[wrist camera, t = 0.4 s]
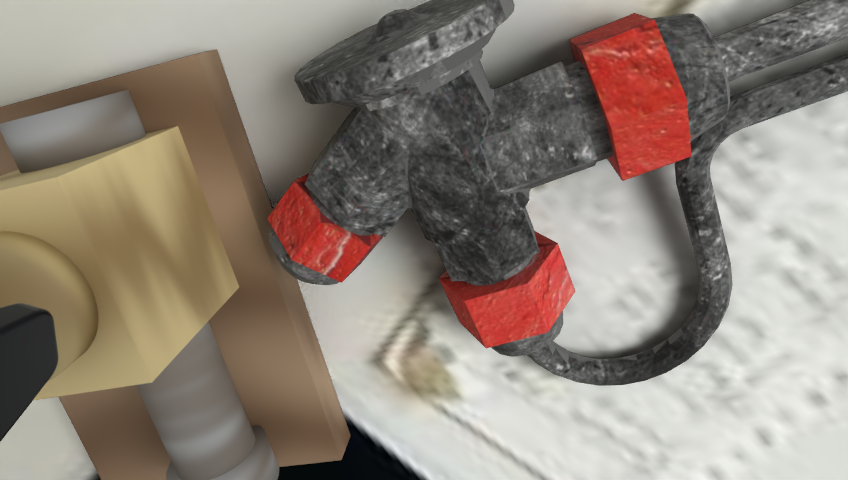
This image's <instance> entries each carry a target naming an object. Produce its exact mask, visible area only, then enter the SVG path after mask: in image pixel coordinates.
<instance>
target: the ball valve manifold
mask: <svg viewBox="0 0 848 480" xmlns="http://www.w3.org/2000/svg"><path fill="white" fill-rule="evenodd" d="M272 211H273V210H272V207H271V204H270V201H269V198H268V196H267V193H266V190H265V187H264V184H263V181H262V178H261V175H260V172H259V170H258V167H257V164H256V161H255V158H254V155H253V152H252V149H251V146H250V144H249V141H248V138H247V135H246V132H245V129H244V126H243V123H242V120H241V118H240V115H239V112H238V109H237V106H236V103H235V100H234V97H233V94H232V92H231V89H230V86H229V83H228V80H227V77H226V74H225V71H224V68H223V66H222V63H221V60H220V57H219V54H218V51H217V49H216V50H212V51H207V52H203V53H198V54H194V55H191V56H187V57H183V58H180V59H176V60H172V61H169V62H165V63H161V64H158V65H154V66H150V67H147V68H143V69H139V70H136V71H132V72H128V73H124V74H121V75H117V76H113V77H110V78H106V79H102V80H99V81H95V82H91V83H88V84H84V85H80V86H77V87H73V88H69V89H66V90H62V91H58V92H55V93H51V94H47V95H43V96H40V97H36V98H32V99H29V100H25V101H21V102H18V103H14V104H10V105H7V106H3V107H0V308H1V307H4V306H8V305H12V304H16V303H25V304H29V305H32V306H36V307H39V308H42V309H45V310H47V311H49V312H50V313H51V315H52V316H53V319H54V325H55V332H56V340H57V348H58V356H59V359H58V364H57V367H56V369H55V371H54V373H53V375H52V376H51V378H50V379H49V380H48V381H47V383H46V384H45V385H44V387H43V388H42V389H41V390H40V392H39V393H38V394H37V395H36V397H35V398H34V399H33V400H39V399H45V398H52V397H59V399H60V401H61V403H62V405H63V407H64V408H65V410H66V412H67V414H68V416H69V418H70V420H71V422H72V424H73V426H74V428H75V430H76V432H77V434H78V435H79V437H80V439H81V441H82V443H83V445H84V447H85V449H86V451H87V453H88V455H89V457H90V459H91V461H92V462H93V464H94V466H95V468H96V470H97V472H98V474H99V476H100V478H101V480H277V479H278V475H279V467H283V466H292V465H301V464H310V463H319V462H328V461H337V460H342V457H343V454H344V452H345V449H346V446H347V444H348V441H349V438H350V436H351V435H350V432H349V430H348V427H347V424H346V421H345V418H344V415H343V412H342V409H341V406H340V404H339V401H338V398H337V395H336V392H335V389H334V386H333V383H332V380H331V378H330V375H329V372H328V369H327V366H326V363H325V360H324V357H323V354H322V352H321V349H320V346H319V343H318V340H317V337H316V334H315V331H314V328H313V326H312V323H311V320H310V317H309V314H308V311H307V308H306V305H305V302H304V300H303V297H302V294H301V291H300V288H299V285H298V282H297V279H296V278H295V277H293V276H292V275H290V274H289V273H288V272H287V271H286V270H284V269H283V268H282V266H281V265H280V263H279V262H278V260H277V259H276V257H275V254H274V252H273V249H272V247H271V244H270V240H269V230H270V228H271V224H270V222H269V221H268V219H267V218H268V217H269V215H270V214H271V212H272Z"/></svg>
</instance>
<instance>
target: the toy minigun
mask: <svg viewBox="0 0 848 480" xmlns="http://www.w3.org/2000/svg"><path fill="white" fill-rule="evenodd" d="M513 11H514V2H513V0H431V1H428V2H426V3H424V4H422V5H419V6H417V7H415V8H412V9H410V10H405V9H402V10H395V11H392V12H390V13H388V14H386V15H385V16H384V17H383V18H382V19H381V20H380V21H379V22H378V24H375V25H373V26H371V27H369V28H367V29H365V30H363V31H361V32H359V33H357V34H355V35H353V36H351V37H350V38H348V39H346V40H344V41H342V42H340V43H339V44H337V45H335V46H334V47H332V48H330V49H328V50H327V51H325V52H323V53H322V54H320V55H319V56H317V57H316V58H314V59H313V60H311V61H310V62H309V63H308V64H306V65H305V66H304V67H303V68H301V69H300V70H299V71H298V73H297V74H296V75H295V81H296V83H297V85H298V87H299V89H300V91H301V93H302V95H303V97H304V99H305V101H306V102H308V103H311V104H324V103H329V102H334V103H338V104H343V105H348V106H355V108H354V109H353V110H352V112H351V113H350V114H349V116H348V117H347V119H346V120H345V121H344V123H343V124H342V125H341V127H340V128H339V130H338V131H337V132H336V134H335V135H334V136H333V138H332V139H331V141H330V142H329V143H328V145H327V146H326V147H325V149H324V150H323V152H322V153H321V154H320V156H319V157H318V158H317V160H316V161H315V163H314V165H313V167H312V169H311V171H310V173H309V174H307V175H305V176H303V177H301V178H299V179H297V180H295V181H294V182H293V183H292V184H291V186H290V187H289V189H288V190H287V191H286V193H285V194H284V196H283V197H282V198H281V200H280V201H279V203H278V204H277V205H276V207H275V208H274V210H273V211H272V212H271V214H270V215H269V217H268V218H267V219H268V221H269V222H270V224H271V228H270V230H269V240H270V244H271V247H272V249H273V252H274V254H275V257H276V259H277V260H278V262H279V263H280V265H281V266H282V268H283V269H284V270H286V271H287V272H288V273H289V274H290V275H292V276H293V277H295V278H297V279H299V280H301V281H303V282H307V283H312V284H320V285H331V284H337V283H338V282H341V283H342V282H343V281H344V280H345V279H346V278H347V277H348V276H349V275H350V274H351V273H352V272H353V271H354V270H355V269H356V268H357V267H358V266H359V265H360V264H361V263H362V261H363V260H364V259H365V258H366V257H367V255H368V254H369V253H370V252H371V251H372V249H373V248H374V247H375V246H376V245H377V243H378V242H379V241H380V240H381V239H382V237H385V236H386V235H387V233H388V232H389V231H390V230H391V228H392V227H393V226H394V225H395V223H396V222H397V221H398V220H399V218H400V217H401V216H402V215H403V213H404V212H405V211H406V210H407V208H412V210H413V212H414V214H415V216H416V219H417V221H418V223H419V225H420V227H421V229H422V231H423V233H424V236H425V238H426V239H428V240H429V241H431V242H433V243H434V244H435V247H436V249H437V251H438V253H439V255H440V257H441V259H442V262H443V264H444V266H445V268H446V271H445V272H444V273H443V274H442V275H441V276H440V278H439V280H440V282H441V284H442V286H443V288H444V290H445V292H446V294H447V297H448V299H449V301H450V303H451V305H452V307H453V309H454V311H455V313H456V315H457V317H458V320H459V322H460V323H461V324H462V325H463V326H464V327H465V328H466V329H467V330H468V331H469V332H470V333H471V334H472V335H473V336H474V337H475V338H476V339H477V340H478V341H479V342H480V343H481V344H482V345H483V346H484V347H485V348H489V347H492V348H493V349H494V350H495V351H497V352H498V353H499V354H502V355H507V356H522V355H529V356H530V357H531V358H532V359H533V360H534V361H535V362H536V363H537V364H539V365H540V366H542V367H543V368H545V369H547V370H548V371H550V372H552V373H553V374H556V375H558V376H561V377H564V378H567V379H570V380H573V381H576V382H580V383H586V384H593V385H625V384H630V383H635V382H640V381H645V380H648V379H650V378H653V377H656V376H658V375H661V374H664V373H666V372H668V371H670V370H672V369H673V368H675V367H677V366H678V365H680V364H682V363H683V362H685V361H687V360H688V359H689V358H690V357H691V356H692V355H694V354H695V353H696V352H697V351H698V350H699V349H701V348H702V347H703V346H704V345H705V343H706V342H707V341H708V340H709V338H710V337H711V336H712V334H713V333H714V332H715V331H716V329H717V328H718V327H719V325H720V323H721V321H722V318H723V316H724V314H725V312H726V310H727V308H728V305H729V300H730V295H731V290H732V274H731V263H730V259H729V254H728V250H727V246H726V242H725V237H724V233H723V229H722V225H721V220H720V216H719V212H718V208H717V203H716V199H715V195H714V190H713V186H712V182H711V178H710V163H711V160H712V157H713V154H714V152H715V151H716V149H717V148H718V146H719V145H720V143H722V142H723V141H724V140H725V139H726V138H727V137H728V136H730V135H731V134H733V133H735V132H737V131H739V130H741V129H742V128H745V127H748V126H751V125H754V124H756V123H759V122H762V121H765V120H768V119H770V118H773V117H776V116H779V115H782V114H785V113H787V112H790V111H793V110H796V109H799V108H801V107H804V106H807V105H810V104H813V103H816V102H818V101H821V100H824V99H827V98H830V97H832V96H835V95H838V94H841V93H844V92H847V91H848V54H846V55H844V56H841V57H838V58H835V59H833V60H830V61H827V62H825V63H822V64H819V65H816V66H814V67H811V68H808V69H805V70H803V71H800V72H797V73H795V74H792V75H789V76H786V77H784V78H781V79H778V80H775V81H773V82H770V83H767V84H765V85H762V86H759V87H756V88H754V89H751V90H748V91H745V92H743V93H740V94H737V95H735V96H732V97H730V88H729V82H728V81H731V80H734V79H736V78H739V77H742V76H745V75H747V74H750V73H753V72H755V71H758V70H761V69H763V68H766V67H769V66H772V65H774V64H777V63H780V62H782V61H785V60H788V59H790V58H793V57H796V56H798V55H801V54H804V53H807V52H809V51H812V50H815V49H817V48H820V47H823V46H825V45H828V44H831V43H834V42H836V41H839V40H842V39H844V38H847V37H848V0H810V1H807V2H805V3H802V4H800V5H797V6H794V7H792V8H789V9H787V10H784V11H781V12H779V13H776V14H774V15H771V16H769V17H766V18H763V19H761V20H758V21H756V22H753V23H750V24H748V25H745V26H743V27H740V28H738V29H735V30H732V31H730V32H727V33H725V34H722V35H719V36H717V37H713V35H712V33H711V32H710V30H709V29H708V27H707V25H706V24H705V23H704V22H703V21H702V20H701V19H700V18H699V17H697V16H695V15H694V14H688V13H687V14H680V15H673V16H666V17H658V18H651V19H650V18H648V17H645V16H642V15H639V14H636V13H633V14H631V15H628V16H626V17H623V18H621V19H619V20H616V21H614V22H611V23H609V24H606V25H604V26H601V27H599V28H597V29H594V30H592V31H589V32H587V33H584V34H582V35H579V36H577V37H575V38H572V39H570V40H569V41H570V45H571V49H572V53H573V57H574V61H575V63H572V64H570V65H567V66H565V67H564V65H563V63H562V61H561V62H558V63H556V64H553V65H551V66H549V67H546V68H544V69H541V70H539V71H536V72H534V73H532V74H529V75H527V76H524V77H522V78H520V79H517V80H515V81H512V82H510V83H508V84H505V85H503V86H500V87H498V88H495V89H492V88H490V86H489V83H488V81H487V78H486V76H485V73H484V70H483V68H482V65H481V62H480V59H481V57H482V54H483V51H482V48H483V47H484V46H485V45H486V44H487V43H488V42H489V40H490V38H491V37H492V35H493V33H494V31H495V29H496V28H497V27H498V26H499V25H500V24H501V23H503V22H504V21H505V20H506V19H507V18H508V17H509V16H510V15H511V13H512V12H513ZM606 158H607V159H608V160H609V162H610V163H611V165H612V166H613V168H614V169H615V171H616V172H617V174H618V175H619V177H620V178H621V179H622V181H624V180H626V179H629V178H632V177H635V176H638V175H640V174H643V173H646V172H649V171H652V170H655V169H657V168H660V167H663V166H666V165H669V164H671V163H674V162H675V173H676V185H677V188H678V192H679V196H680V200H681V204H682V207H683V211H684V215H685V219H686V223H687V227H688V230H689V234H690V238H691V242H692V246H693V250H694V253H695V257H696V261H697V265H698V270H699V278H700V287H699V293H698V299H697V301H696V304H695V306H694V308H693V311H692V313H691V315H690V316H689V317H688V319H687V320H686V321H685V323H684V324H683V325H682V327H681V328H679V329H678V330H677V331H676V332H675V333H674V334H673V335H672V336H670V337H669V338H668V339H666V340H665V341H663V342H661V343H660V344H658V345H656V346H655V347H653V348H651V349H648V350H645V351H643V352H640V353H638V354H635V355H630V356H625V357H620V358H608V359H596V358H590V357H583V356H580V355H578V354H575V353H572V352H569V351H567V350H565V349H564V348H562V347H561V346H559V345H557V344H556V343H554V342H553V340H554V339H555V338H556V337H557V336H558V334H559V333H560V331H561V328H562V325H563V309H564V308H565V306H566V305H567V303H568V302H569V300H570V299H571V297H572V296H573V294H574V293H575V289H574V286H573V284H572V281H571V278H570V275H569V273H568V270H567V267H566V265H565V262H564V259H563V257H562V254H561V251H560V248H559V246H558V243H556V242H554V241H552V240H550V239H548V238H547V237H545V236H543V235H541V234H539V233H537V232H535V231H534V229H533V226H532V223H531V220H530V218H529V215H528V213H527V210H526V207H525V206H526V204H527V203H528V201H529V191H530V189H531V188H533V187H536V186H539V185H542V184H545V183H547V182H550V181H553V180H556V179H558V178H561V177H564V176H567V175H570V174H572V173H575V172H578V171H581V170H584V169H586V168H589V167H592V166H595V164H596V162H598V161H600V160H603V159H606Z"/></svg>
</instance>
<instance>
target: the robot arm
mask: <svg viewBox="0 0 848 480" xmlns="http://www.w3.org/2000/svg"><path fill="white" fill-rule="evenodd" d="M58 359H59V356H58V348H57V340H56V332H55V325H54V319H53V316H52V315H51V313H50V312H49V311H47V310H45V309H42V308H39V307H36V306H32V305H29V304H25V303H16V304H12V305H8V306H4V307H1V308H0V441H1V440H2V439H3V438H4V436H5V435H6V434H7V432H8V431H9V430H10V429H11V427H12V426H13V425H14V424H15V422H16V421H17V420H18V418H19V417H20V416H21V415H22V413H23V412H24V411H25V410H26V408H27V407H28V406H29V404H30V403H31V402H32V401H33V399H34V398H35V397H36V395H37V394H38V393H39V392H40V390H41V389H42V388H43V387H44V385H45V384H46V383H47V381H48V380H49V379H50V378H51V376H52V375H53V373H54V371H55V369H56V367H57V364H58Z"/></svg>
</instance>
